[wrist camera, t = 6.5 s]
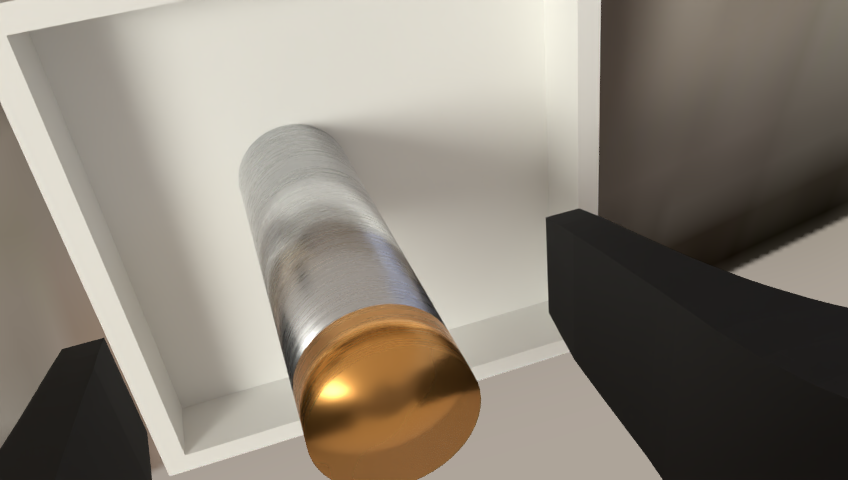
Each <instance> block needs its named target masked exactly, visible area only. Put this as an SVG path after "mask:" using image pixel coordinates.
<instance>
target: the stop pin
mask: <svg viewBox="0 0 848 480" xmlns="http://www.w3.org/2000/svg"><path fill="white" fill-rule="evenodd" d="M238 181H239V188H240V192H241V195H242V199H243V203H244V207H245V211H246V215H247V219H248V222H249V226H250V230H251V234H252V238H253V242H254V245H255V249H256V253H257V257H258V261H259V265H260V269H261V272H262V276H263V280H264V284H265V288H266V292H267V295H268V299H269V303H270V307H271V311H272V315H273V319H274V322H275V326H276V330H277V334H278V338H279V342H280V345H281V349H282V353H283V357H284V361H285V365H286V369H287V372H288V376H289V380H290V384H291V388H292V392H293V395H294V399H295V403H296V407H297V411H298V415H299V419H300V422H301V426H302V430H303V434H304V437H305V442H306V445H307V449H308V452H309V455H310V457H311V459H312V461H313V463H314V464H315V466H316V467H317V468H318V469H319V470H320V471H321V472H322V473H323V474H324V475H325V476H327V477H328V478H330V479H331V480H417V479H419V478H422V477H424V476H426V475H427V474H429V473H431V472H433V471H434V470H436V469H437V468H439V467H440V466H442V465H443V464H444V463H446V462H447V461H448V460H449V459H451V458H452V457H453V456H454V455H455V454H456V453H457V452H458V451H459V449H460V448H461V447H462V446H463V445H464V444H465V442H466V441H467V439H468V438H469V436H470V435H471V433H472V431H473V429H474V427H475V425H476V422H477V419H478V416H479V412H480V405H481V395H480V388H479V386H478V382H477V380H476V378H475V376H474V374H473V372H472V371H471V369H470V367H469V365H468V364H467V362H466V360H465V358H464V357H463V355H462V353H461V352H460V350H459V348H458V346H457V345H456V343H455V341H454V340H453V338H452V336H451V334H450V333H449V331H448V329H447V328H446V326H445V324H444V322H443V321H442V319H441V317H440V316H439V314H438V312H437V310H436V309H435V307H434V305H433V304H432V302H431V300H430V298H429V297H428V295H427V293H426V292H425V290H424V288H423V286H422V285H421V283H420V281H419V280H418V278H417V276H416V274H415V273H414V271H413V269H412V268H411V266H410V264H409V262H408V261H407V259H406V257H405V255H404V254H403V252H402V250H401V249H400V247H399V245H398V243H397V242H396V240H395V238H394V237H393V235H392V233H391V231H390V230H389V228H388V226H387V225H386V223H385V221H384V219H383V218H382V216H381V214H380V213H379V211H378V209H377V207H376V206H375V204H374V202H373V201H372V199H371V197H370V195H369V194H368V192H367V190H366V189H365V187H364V185H363V183H362V182H361V180H360V178H359V177H358V175H357V173H356V171H355V170H354V168H353V166H352V164H351V163H350V161H349V159H348V158H347V156H346V154H345V152H344V151H343V149H342V147H341V146H340V145H339V143H338V142H337V141H336V140H335V139H334V138H333V137H332V136H330V135H329V134H328V133H326V132H324V131H323V130H321V129H318V128H316V127H312V126H309V125H302V124H292V125H285V126H281V127H277V128H275V129H272V130H270V131H268V132H266V133H264V134H263V135H262V136H260V137H259V138H258V139H257V140H255V141H254V142H253V143H252V145H251V146H250V147H249V148H248V150H247V151H246V153H245V154H244V157H243V159H242V161H241V164H240V168H239V180H238Z"/></svg>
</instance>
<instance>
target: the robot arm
mask: <svg viewBox="0 0 848 480" xmlns="http://www.w3.org/2000/svg"><path fill="white" fill-rule="evenodd" d="M546 244H547V276H548V307H549V314H550V316H551V318H552V320H553V322H554V323H555V325H556V327H557V329H558V331H559V333H560V335H561V337H562V338H563V340H564V342H565V344H566V345H567V347H568V349H569V351H570V352H571V354H572V356H573V358H574V359H575V361H576V362H577V364H578V365H579V366H580V368H581V369H582V371H583V372H584V373H585V375H586V376H587V377H588V378H589V380H590V381H591V383H592V384H593V385H594V387H595V388H596V389H597V391H598V392H599V394H600V395H601V396H602V398H603V399H604V400H605V402H606V403H607V404H608V405H609V407H610V408H611V409H612V411H613V412H614V413H615V415H616V416H617V417H618V419H619V420H620V421H621V423H622V424H623V425H624V426H625V428H626V429H627V431H628V432H629V433H630V435H631V436H632V437H633V439H634V440H635V441H636V443H637V444H638V445H639V447H640V448H641V449H642V451H643V452H644V453H645V455H646V456H647V457H648V459H649V460H650V461H651V463H652V465H653V466H654V467H655V469H656V470H657V472H658V473H659V475H660V476H661V478H662V479H663V480H848V308H847V307H842V306H838V305H833V304H830V303H825V302H822V301H818V300H814V299H810V298H807V297H803V296H800V295H797V294H793V293H790V292H786V291H783V290H780V289H776V288H773V287H770V286H766V285H763V284H760V283H757V282H754V281H751V280H748V279H746V278H743V277H740V276H737V275H735V274H732V273H729V272H727V271H724V270H721V269H719V268H716V267H713V266H711V265H708V264H706V263H703V262H701V261H698V260H696V259H694V258H691V257H689V256H686V255H684V254H682V253H679V252H677V251H675V250H672V249H670V248H668V247H665V246H663V245H661V244H659V243H656V242H654V241H652V240H650V239H648V238H645V237H643V236H641V235H639V234H637V233H634V232H632V231H630V230H628V229H626V228H624V227H621V226H619V225H617V224H615V223H613V222H610V221H608V220H606V219H604V218H602V217H599V216H597V215H595V214H592V213H590V212H587V211H585V210H582V209H580V208H578V209H575V210H571V211H567V212H564V213H560V214H556V215H553V216H549V217H546ZM0 480H152V476H151V465H150V455H149V446H148V437H147V431H146V429H145V427H144V425H143V422H142V420H141V418H140V416H139V414H138V411H137V409H136V407H135V405H134V403H133V400H132V398H131V396H130V394H129V392H128V389H127V387H126V385H125V383H124V381H123V378H122V376H121V374H120V372H119V370H118V367H117V365H116V363H115V361H114V359H113V356H112V354H111V352H110V350H109V348H108V346H107V343H106V341H105V339H104V338H102V339H98V340H94V341H91V342H87V343H83V344H80V345H76V346H72V347H69V348H65V349H62V350H61V352H60V353H59V355H58V357H57V358H56V360H55V361H54V363H53V364H52V366H51V368H50V369H49V371H48V372H47V374H46V376H45V377H44V379H43V381H42V382H41V384H40V386H39V387H38V389H37V391H36V392H35V394H34V396H33V397H32V399H31V401H30V402H29V404H28V406H27V407H26V409H25V411H24V412H23V414H22V416H21V417H20V419H19V420H18V422H17V424H16V425H15V427H14V428H13V430H12V431H11V433H10V435H9V436H8V438H7V439H6V441H5V442H4V444H3V445H2V447H1V449H0Z"/></svg>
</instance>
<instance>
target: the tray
mask: <svg viewBox="0 0 848 480" xmlns="http://www.w3.org/2000/svg"><path fill="white" fill-rule="evenodd" d="M600 30H601V0H0V102H1V105H2V107H3V109H4V111H5V113H6V116H7V118H8V120H9V122H10V125H11V127H12V129H13V131H14V133H15V136H16V138H17V140H18V142H19V144H20V147H21V149H22V151H23V153H24V155H25V158H26V160H27V162H28V164H29V167H30V169H31V171H32V173H33V175H34V178H35V180H36V182H37V184H38V186H39V189H40V191H41V193H42V195H43V197H44V200H45V202H46V204H47V206H48V209H49V211H50V213H51V215H52V217H53V220H54V222H55V224H56V226H57V228H58V231H59V233H60V235H61V237H62V239H63V242H64V244H65V246H66V248H67V251H68V253H69V255H70V257H71V259H72V262H73V264H74V266H75V268H76V270H77V273H78V275H79V277H80V279H81V281H82V284H83V286H84V288H85V290H86V293H87V295H88V297H89V299H90V301H91V304H92V306H93V308H94V310H95V312H96V315H97V317H98V319H99V321H100V323H101V326H102V328H103V330H104V332H105V334H106V337H107V339H108V341H109V343H110V346H111V348H112V350H113V352H114V354H115V357H116V359H117V361H118V363H119V365H120V368H121V370H122V372H123V374H124V376H125V379H126V381H127V383H128V385H129V388H130V390H131V392H132V394H133V396H134V399H135V401H136V403H137V405H138V407H139V410H140V412H141V414H142V416H143V418H144V421H145V423H146V425H147V427H148V430H149V432H150V434H151V436H152V438H153V441H154V443H155V445H156V447H157V449H158V452H159V454H160V456H161V458H162V460H163V463H164V465H165V467H166V469H167V471H168V474H169V476H172V475H175V474H179V473H182V472H185V471H188V470H192V469H195V468H198V467H201V466H205V465H208V464H211V463H214V462H217V461H221V460H224V459H227V458H230V457H234V456H237V455H240V454H243V453H246V452H250V451H253V450H256V449H259V448H263V447H266V446H269V445H272V444H275V443H279V442H282V441H285V440H288V439H292V438H295V437H298V436H301V435H304V434H303V430H302V426H301V422H300V419H299V415H298V411H297V407H296V403H295V399H294V395H293V392H292V388H291V384H290V380H289V376H288V372H287V369H286V365H285V361H284V357H283V353H282V349H281V345H280V342H279V338H278V334H277V330H276V326H275V322H274V319H273V315H272V311H271V307H270V303H269V299H268V295H267V292H266V288H265V284H264V280H263V276H262V272H261V269H260V265H259V261H258V257H257V253H256V249H255V245H254V242H253V238H252V234H251V230H250V226H249V222H248V219H247V215H246V211H245V207H244V203H243V199H242V195H241V192H240V188H239V181H238V180H239V168H240V164H241V161H242V159H243V157H244V154H245V153H246V151H247V150H248V148H249V147H250V146H251V145H252V143H253V142H254V141H255V140H257V139H258V138H259V137H260V136H262V135H263V134H264V133H266V132H268V131H270V130H272V129H275V128H277V127H281V126H285V125H292V124H302V125H309V126H312V127H316V128H318V129H321V130H323V131H324V132H326V133H328V134H329V135H330V136H332V137H333V138H334V139H335V140H336V141H337V142H338V143H339V145H340V146H341V147H342V149H343V151H344V152H345V154H346V156H347V158H348V159H349V161H350V163H351V164H352V166H353V168H354V170H355V171H356V173H357V175H358V177H359V178H360V180H361V182H362V183H363V185H364V187H365V189H366V190H367V192H368V194H369V195H370V197H371V199H372V201H373V202H374V204H375V206H376V207H377V209H378V211H379V213H380V214H381V216H382V218H383V219H384V221H385V223H386V225H387V226H388V228H389V230H390V231H391V233H392V235H393V237H394V238H395V240H396V242H397V243H398V245H399V247H400V249H401V250H402V252H403V254H404V255H405V257H406V259H407V261H408V262H409V264H410V266H411V268H412V269H413V271H414V273H415V274H416V276H417V278H418V280H419V281H420V283H421V285H422V286H423V288H424V290H425V292H426V293H427V295H428V297H429V298H430V300H431V302H432V304H433V305H434V307H435V309H436V310H437V312H438V314H439V316H440V317H441V319H442V321H443V322H444V324H445V326H446V328H447V329H448V331H449V333H450V334H451V336H452V338H453V340H454V341H455V343H456V345H457V346H458V348H459V350H460V352H461V353H462V355H463V357H464V358H465V360H466V362H467V364H468V365H469V367H470V369H471V371H472V372H473V374H474V376H475V378H476V380H477V381H479V380H482V379H485V378H488V377H492V376H494V375H498V374H501V373H504V372H508V371H511V370H514V369H517V368H520V367H524V366H527V365H530V364H533V363H537V362H540V361H543V360H546V359H550V358H553V357H556V356H559V355H562V354H566V353H569V352H570V351H569V349H568V347H567V345H566V344H565V342H564V340H563V338H562V337H561V335H560V333H559V331H558V329H557V327H556V325H555V323H554V322H553V320H552V318H551V316H550V314H549V307H548V276H547V244H546V217H549V216H553V215H556V214H560V213H564V212H567V211H571V210H575V209H578V208H580V209H582V210H585V211H587V212H590V213H592V214H595V215H597V216H598V182H599V106H600Z"/></svg>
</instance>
